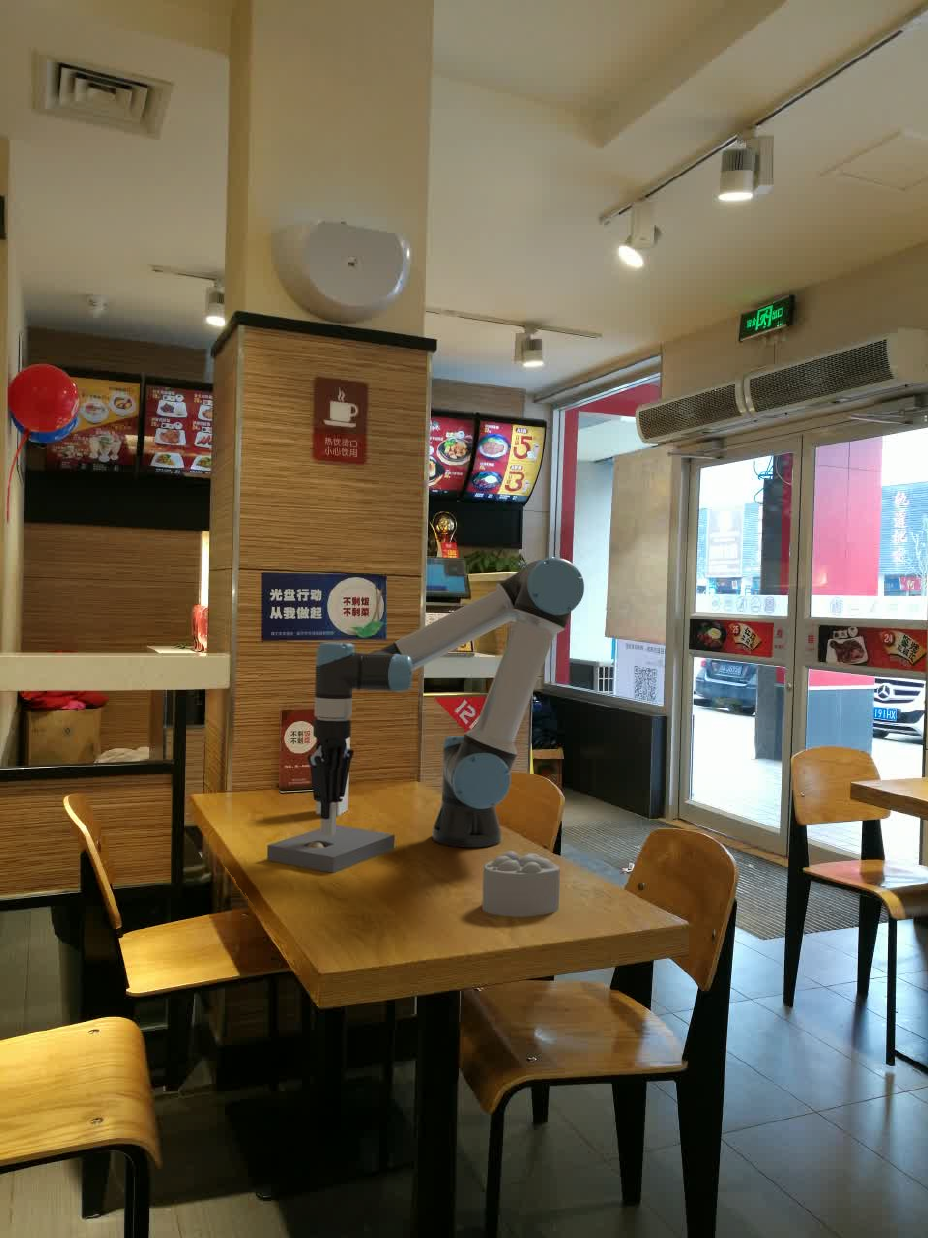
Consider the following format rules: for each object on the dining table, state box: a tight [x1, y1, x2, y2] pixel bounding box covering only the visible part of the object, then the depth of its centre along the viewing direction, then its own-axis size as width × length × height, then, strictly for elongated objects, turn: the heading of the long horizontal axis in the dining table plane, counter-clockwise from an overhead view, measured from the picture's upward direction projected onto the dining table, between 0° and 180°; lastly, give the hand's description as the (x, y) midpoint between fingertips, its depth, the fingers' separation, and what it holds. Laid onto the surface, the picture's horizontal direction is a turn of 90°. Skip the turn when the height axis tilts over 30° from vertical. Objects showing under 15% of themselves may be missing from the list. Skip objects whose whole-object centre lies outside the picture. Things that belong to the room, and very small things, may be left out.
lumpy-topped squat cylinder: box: [481, 850, 561, 918], centre depth 161 cm, size 10×13×9 cm
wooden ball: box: [308, 842, 324, 849], centre depth 187 cm, size 4×4×4 cm
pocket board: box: [266, 824, 396, 874], centre depth 191 cm, size 16×22×3 cm
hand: (327, 834), depth 190 cm, fingers closed
